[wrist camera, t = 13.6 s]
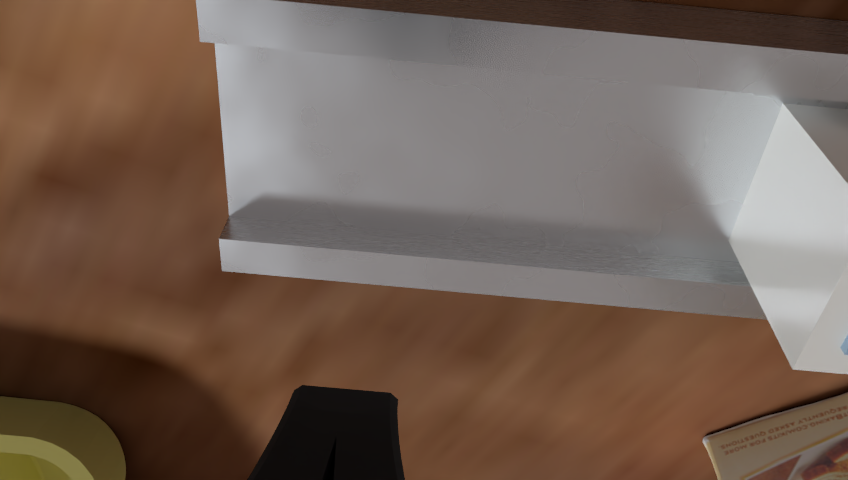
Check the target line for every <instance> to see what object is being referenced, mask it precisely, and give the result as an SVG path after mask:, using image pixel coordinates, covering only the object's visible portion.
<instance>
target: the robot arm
mask: <svg viewBox="0 0 848 480" xmlns="http://www.w3.org/2000/svg"><path fill="white" fill-rule="evenodd" d="M397 405H398V399H397V398H395V397H394V396H393V395H392V394H391V393H386V392H374V391H363V390H351V389H340V388H328V387H317V386H305V385H302V386H300V387H299V388H297V389H296V390H294V392H293V394H292V397H291V399H290V402H289V404H288V406H287V408H286V410H285V412H284V414H283V417H282V419H281V421H280V423H279V425H278V427H277V429H276V430H275V432H274V434H273V436H272V438H271V440H270V442H269V443H268V445H267V447H266V449H265V450H264V452H263V454H262V456H261V457H260V459H259V461H258V463H257V464H256V466H255V468H254V470H253V471H252V473H251V475H250V476H249V478H248V479H247V480H405V478H404V472H403V466H402V460H401V453H400V445H399V435H398V419H397Z"/></svg>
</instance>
